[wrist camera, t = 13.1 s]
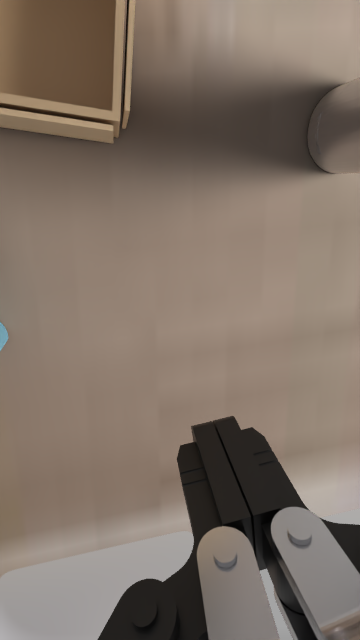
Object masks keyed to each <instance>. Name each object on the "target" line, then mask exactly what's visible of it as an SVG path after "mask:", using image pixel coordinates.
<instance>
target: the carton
mask: <svg viewBox="0 0 360 640" xmlns="http://www.w3.org/2000/svg"><path fill="white" fill-rule="evenodd" d="M124 12H125V0H0V127H3V128H10V129H17V130H24V131H30V132H37V133H44V134H51V135H58V136H65V137H72V138H79V139H86V140H93V141H100V142H106V143H113V137H115V138H118V137H119V127H120V111H121V86H122V62H123V37H124ZM134 16H135V0H127V19H126V43H125V66H124V90H123V113H122V128H123V129H126V126H127V121H128V117H129V113H130V97H131V77H132V56H133V36H134Z"/></svg>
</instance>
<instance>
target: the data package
mask: <svg viewBox="0 0 360 640" xmlns="http://www.w3.org/2000/svg"><path fill="white" fill-rule="evenodd" d="M7 340H8V333H7V330H6V329H5V327H4V326H3V324H2V323H1V322H0V351H1V349H2V348H3V346H4V345H5V343H6V342H7Z"/></svg>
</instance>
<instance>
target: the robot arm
mask: <svg viewBox="0 0 360 640" xmlns="http://www.w3.org/2000/svg"><path fill="white" fill-rule="evenodd" d="M307 138H308V147H309V151H310V154H311V156H312V158H313V160H314V162H315V163H316V164H317V165H318V166H319V167H320V168H322V169H323V170H324V171H327V172H330V173H360V78H357V79H355V80H353V81H350V82H348V83H346V84H343V85H341V86H339V87H336V88H334V89H333V90H331V91H330V92H328V93H327V94H326V95H325V96H324V97H323V98H322V99H321V100H320V102H319V103H318V105H317V106H316V108H315V109H314V112H313V114H312V116H311V119H310V122H309V126H308V135H307ZM191 429H192V435H193V441H194V442H192V443H188V444H184V445H180V449H179V453H178V457H177V462H178V467H179V472H180V477H181V482H182V487H183V491H184V496H185V500H186V505H187V509H188V514H189V518H190V523H191V527H192V532H193V536H194V546H193V550H192V553H191V555H190V558H189V559H188V561H187V562H186V564H185V565H184V566H183V567H182V568H181V569H180V570H179V571H177V572H176V573H175V574H173V575H172V576H171V577H169V578H168V579H167V580H166V581H164V582H161V581H159V580H156V579H144V580H141V581H138V582H136V583H135V584H133V585H132V586H131V587H129V588H128V589H127V590H126V592H125V593H124V594H123V596H122V597H121V599H120V600H119V602H118V604H117V606H116V607H115V609H114V611H113V613H112V615H111V617H110V618H109V620H108V622H107V624H106V625H105V627H104V629H103V631H102V633H101V635H100V636H99V638H98V640H280V638H279V635H278V631H277V628H276V625H275V621H274V618H273V615H272V611H271V608H270V604H269V601H268V598H267V594H266V591H265V588H264V584H263V581H262V578H261V574H260V570H263V569H266V568H267V570H268V572H269V575H270V577H271V580H272V582H273V585H274V596H275V600H276V602H277V605H278V607H279V609H280V612H281V614H282V616H283V618H284V620H285V623H286V625H287V627H288V629H289V631H290V634H291V636H292V638H293V640H360V525H353V524H338V523H332V522H329V521H326V520H323V519H321V518H319V517H318V516H317V515H315V514H314V513H313V512H311V511H310V510H309V509H308V508H307V507H306V506H305V505H304V503H303V502H302V500H301V499H300V497H299V495H298V494H297V492H296V490H295V488H294V487H293V485H292V483H291V482H290V480H289V478H288V476H287V475H286V473H285V471H284V470H283V468H282V466H281V464H280V463H279V462H278V459H277V458H276V456H275V454H274V452H272V449H271V447H270V446H269V444H268V442H267V441H266V439H265V437H264V436H263V435H261V434H260V433H259V432H258V431H256V430H255V429H254V428H248V429H244V430H241V429H240V427H239V425H238V423H237V421H236V419H235V417H234V416H230V417H226V418H222V419H218V420H214V421H213V423H212V421H210V422H206V423H202V424H198V425H194V426H191Z"/></svg>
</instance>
